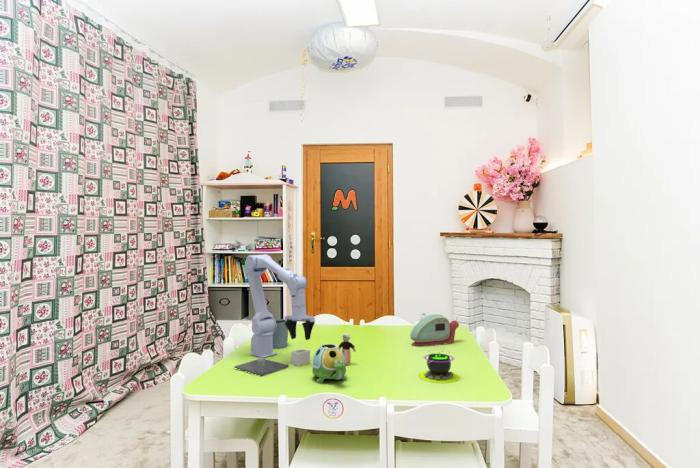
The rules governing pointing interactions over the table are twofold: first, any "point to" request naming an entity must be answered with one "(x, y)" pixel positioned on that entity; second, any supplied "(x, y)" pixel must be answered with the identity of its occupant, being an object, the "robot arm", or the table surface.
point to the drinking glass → (280, 334)
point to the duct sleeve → (300, 357)
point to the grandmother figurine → (346, 348)
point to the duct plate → (261, 366)
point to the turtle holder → (329, 363)
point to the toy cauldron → (439, 369)
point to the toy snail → (433, 331)
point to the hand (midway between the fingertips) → (300, 339)
